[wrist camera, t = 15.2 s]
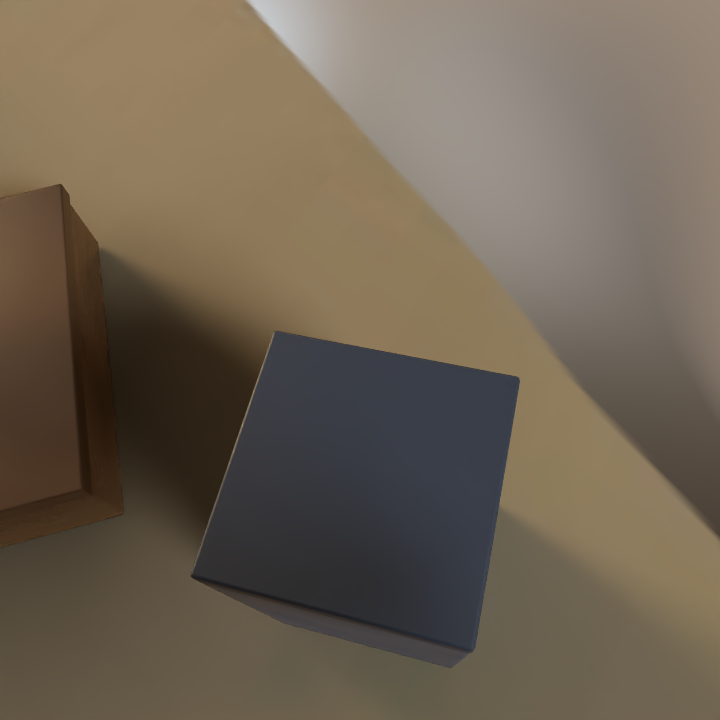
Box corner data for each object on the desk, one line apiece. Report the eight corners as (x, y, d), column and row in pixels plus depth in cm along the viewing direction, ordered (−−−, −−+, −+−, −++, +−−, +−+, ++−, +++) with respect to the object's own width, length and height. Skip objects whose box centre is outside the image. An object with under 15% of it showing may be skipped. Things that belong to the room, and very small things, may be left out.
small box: (452, 668, 17) (474, 653, 10) (280, 622, 18) (187, 577, 11) (483, 494, 19) (520, 375, 12) (326, 459, 20) (273, 329, 13)
